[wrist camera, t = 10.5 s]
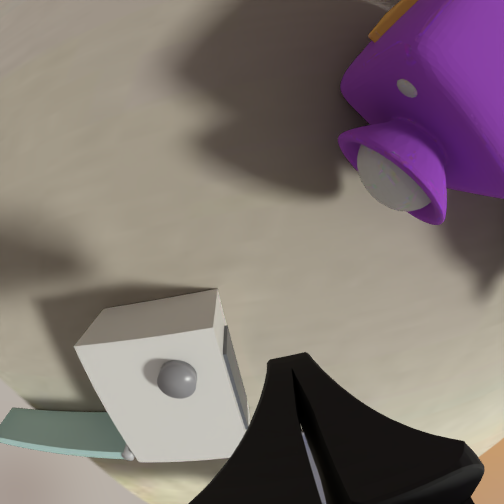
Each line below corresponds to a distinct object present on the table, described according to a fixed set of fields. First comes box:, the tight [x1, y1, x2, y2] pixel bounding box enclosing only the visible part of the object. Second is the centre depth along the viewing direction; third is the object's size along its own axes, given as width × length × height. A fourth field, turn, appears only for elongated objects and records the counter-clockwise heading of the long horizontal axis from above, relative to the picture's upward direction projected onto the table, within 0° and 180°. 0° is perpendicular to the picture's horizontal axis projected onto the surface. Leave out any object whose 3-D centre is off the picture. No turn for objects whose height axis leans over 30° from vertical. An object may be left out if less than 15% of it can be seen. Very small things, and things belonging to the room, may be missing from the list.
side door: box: [0, 408, 135, 461], centre depth 20 cm, size 15×1×5 cm, turn 100°
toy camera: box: [338, 0, 504, 225], centre depth 13 cm, size 11×14×10 cm
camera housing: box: [74, 289, 250, 462], centre depth 19 cm, size 11×8×6 cm
